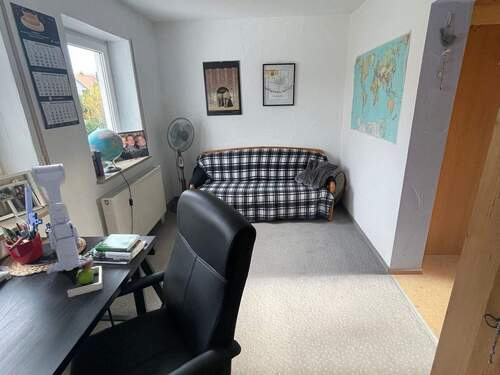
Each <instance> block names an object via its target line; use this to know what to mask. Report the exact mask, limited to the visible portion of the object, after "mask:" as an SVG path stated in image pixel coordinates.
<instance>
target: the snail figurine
mask: <svg viewBox="0 0 500 375" xmlns="http://www.w3.org/2000/svg"><path fill="white" fill-rule="evenodd" d="M90 257H91V259H90V260H89V262H90V263H89V262H88V263H85V264H86V265H81V266H80V267H79V269H80V270H82V271H80V272H79V274H78V276H77V278H76V280H77V281H78V282H79V283H81V284H90V282H92V280H93V279H94V276H95V273H93V271H92V270H91V268H92V267H94V266H93V265H94V255H93V256H90ZM81 258H82V259H80V261H81V260H83V261H84V260H85V261H88V260H87V259H85V258H86V257H81ZM92 258H93V259H92Z"/></svg>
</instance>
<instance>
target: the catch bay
mask: <svg viewBox="0 0 500 375" xmlns="http://www.w3.org/2000/svg"><path fill="white" fill-rule="evenodd" d="M91 270H92V271H93V273H94V274H97V273H98V282H95V283H92V284H91V283H89V284H88V285H84V286H79V287H75V288H72V289H68V290H67V291H66V292H67V296H68V297H67V298H72V297H75V296H78V295H83V294H87V293H90V292H94V291H98V290H102V289H103V268H102V265H98V266H97V265H96V266H92V268H91ZM80 271H82V270H81V269H80V270H78V273H77V276H78V274H79V272H80ZM76 279H77V277H76Z"/></svg>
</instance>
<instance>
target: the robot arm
mask: <svg viewBox="0 0 500 375" xmlns="http://www.w3.org/2000/svg"><path fill="white" fill-rule="evenodd" d="M31 170H32V175H33V180H34V183H35V184H36V185H37V187H40V188H44V190H45V191H46V194H47V198H48V202H49V206H48V208H47V211H48V216H49V220H50V225H51V226H50V229H49V231H48V234H47V235H48V240H49V244H50V248H51V250H55V252H56V256H57V260H58V263H55V264H51V265H49V266H46V268H45V270H46V274H47V275H49V274H52V273H53V272H62V274H63V276H64V277H66V278H68V280H69V281H70V282H71V284H72V286H76V285H77V281H78V280H77V278H76V277H77V273H78V271H79V269H80V266H81V265H86V264H85V263H88V262H89V260H90V259H91V257H92V256H90V257H84V258H85V259H87V260H88V261H85V260H84V261H83V260H81V261H80V259H82V258H83V257H82V255H81V254H79V251H78V244H79V243H80V238H79V233H78V230H77V227H76V226H75V225H74V224H73V221H72V220H71V218H70V214H69V209H68V205H67V204H66V203H63V199H62V195H61V194H62V193H61V185H63V184H65V182H66V178H67V176H66V173H65V168H64V165H63V163H57V164H48V165H38V166H35V165H34V166H32V168H31ZM92 259H93V260H94V257H93V258H92ZM89 263H90V262H89Z"/></svg>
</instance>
